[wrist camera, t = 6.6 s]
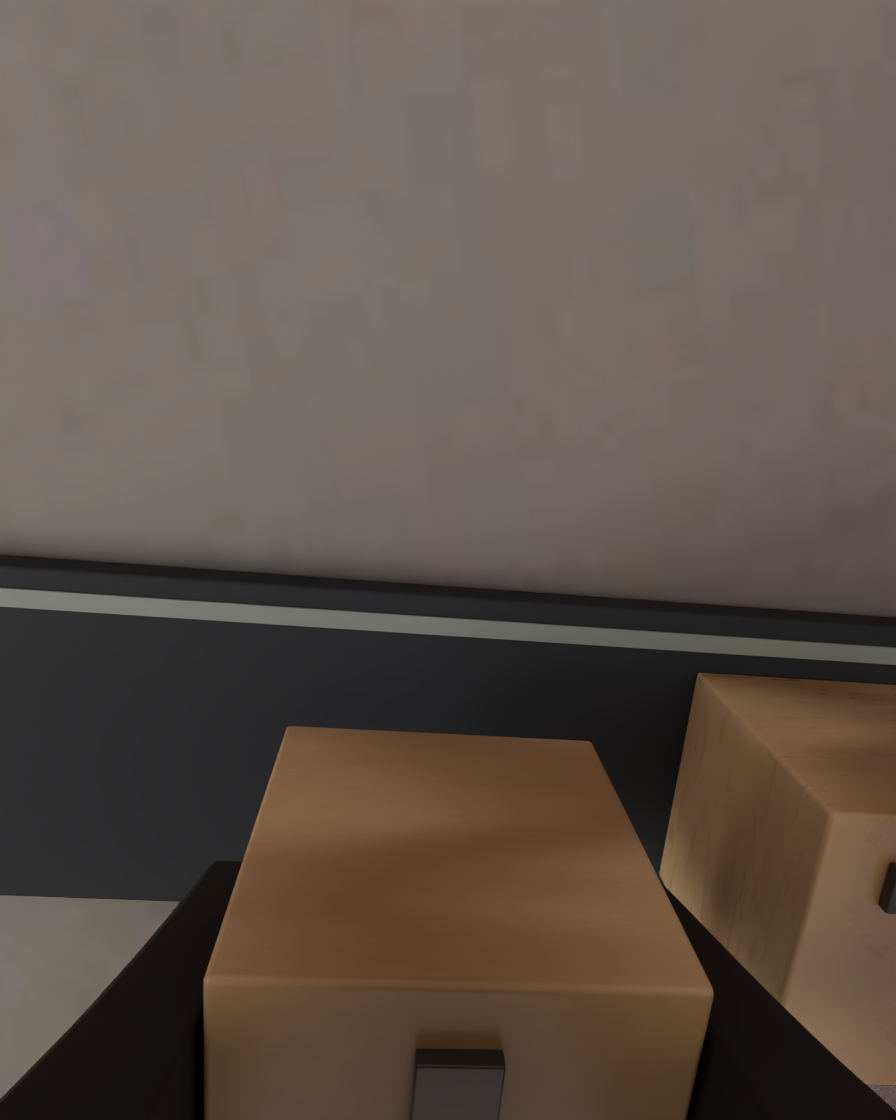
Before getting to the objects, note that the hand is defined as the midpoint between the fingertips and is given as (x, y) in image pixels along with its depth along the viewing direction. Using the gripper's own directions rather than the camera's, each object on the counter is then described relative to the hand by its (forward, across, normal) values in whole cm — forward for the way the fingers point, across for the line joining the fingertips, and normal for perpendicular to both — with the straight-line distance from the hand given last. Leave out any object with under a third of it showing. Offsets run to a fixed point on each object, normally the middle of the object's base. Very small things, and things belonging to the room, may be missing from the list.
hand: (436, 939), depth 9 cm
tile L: (+4, -6, 0) cm, 7 cm away
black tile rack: (+4, 0, 0) cm, 4 cm away
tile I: (+1, 0, 0) cm, 1 cm away
